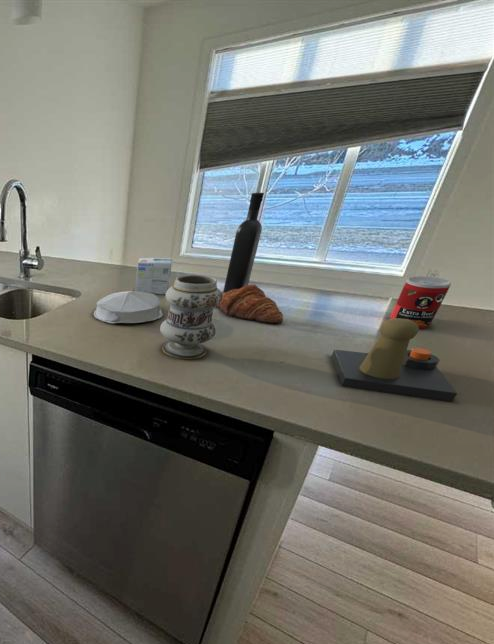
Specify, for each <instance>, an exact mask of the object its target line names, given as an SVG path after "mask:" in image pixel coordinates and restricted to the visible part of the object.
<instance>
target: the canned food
mask: <svg viewBox="0 0 494 644" xmlns="http://www.w3.org/2000/svg"><path fill="white" fill-rule="evenodd" d="M451 284H452V282H451V281H449V280H447V279H444V278H440V277H434V276H410V277H408V278H407V279H406V280H405V282H404V284H403V286H402V289H401V291H400V293H399V296H398V298H397V301H396V303H395V305H394V307H393V309H392V312H391V314H390V316H389V319H392V318H401V319H407V320H411V321H414V322H415V323H417V324H418V327H419V330H420V329H426V328H428V327H430V325H431V324H432V323H433V321H434V319H435V317H436V315H437V313H438V311H439V310H440V307H441V305H442V303H443V302H444V299H445V297H446V295H447V293H448V292H449V289H450V287H451Z"/></svg>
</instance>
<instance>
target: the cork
mask: <svg viewBox="0 0 494 644" xmlns="http://www.w3.org/2000/svg"><path fill="white" fill-rule="evenodd" d="M419 330H420V329H419V327H418V324H417V323H415V322H414V321H411V320H407V319H401V318H392V319H390V318H387V319H386V320H385V321H383V322H382V324H380V327H379V333H380V336H379V337H378V338H377V340H376V341H375V343H374V345H373V347H372V348H371V349H370V351H369V352H368V353H369V354H368V355H367V357H366V358H365V360H364V361H363V363H362V364H361V366H360V370H361V371H362V372H363V373H365V374H368V375H370V376H373V377H377V378H383V379H395V378H398V377H399V375H400V372H401V368H402V365H403V362H404V358H405V355H406V351H407V350H408V347H409V345H410V340H412V339H414V338H415V337H416V336H417V334H418V333H419Z"/></svg>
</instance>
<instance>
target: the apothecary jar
mask: <svg viewBox="0 0 494 644" xmlns="http://www.w3.org/2000/svg"><path fill="white" fill-rule="evenodd" d="M217 284H218V281H217V278H215V277H213V276H210V275H204V274H185V275H179V276H177V277H176V278H175V280H174V284H173V285H171V286H170V287H168V290H167V292H166V294H165V300H166V301H167V303H169V307H168V313H167V317H166V318H165V320H164V321H162V323H160V329H159V330H160V334H161V335H162V337H164V338H165V339H166V340H168V342H165V343H164V344H163V346H162V352H163V353H164V354H166V355H167V356H170V357H172V358H175V359H182V360H195V359H199V358H202V357H204V356H205V355H206V354H207V349H206V348H205V347H204V346H203V345H202V344H204V343H207V342H208V341H210V340H212V339H213V338H214V337H215V335H216V326H215V324H214V323H213V322H212V320H213V316H214V315H213V314H214V309H215V307H216V305H218V304H219V303H220V302H221V300H222V293H221V292H222V291H221V290H220V289H219V288H218V285H217Z"/></svg>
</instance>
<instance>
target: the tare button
mask: <svg viewBox="0 0 494 644" xmlns="http://www.w3.org/2000/svg"><path fill="white" fill-rule="evenodd" d="M411 350H412V351H411V353H410V355H409V356H410V357H412V358H415V359H419V360H428V359H429V357H430V355H431V354H432V351H431V350H429V349H426V348H420V347H415V348H412V349H411Z"/></svg>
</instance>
